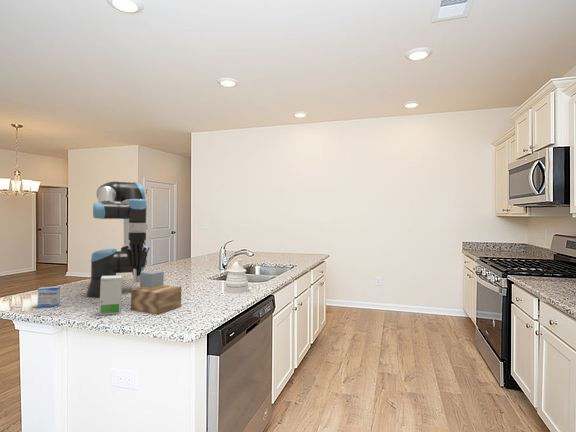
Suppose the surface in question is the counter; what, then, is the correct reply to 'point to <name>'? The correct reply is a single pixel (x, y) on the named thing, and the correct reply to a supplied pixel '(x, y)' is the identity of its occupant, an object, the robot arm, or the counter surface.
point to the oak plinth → (156, 299)
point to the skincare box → (110, 295)
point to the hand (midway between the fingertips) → (136, 282)
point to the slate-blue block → (151, 280)
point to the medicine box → (48, 296)
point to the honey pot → (236, 279)
